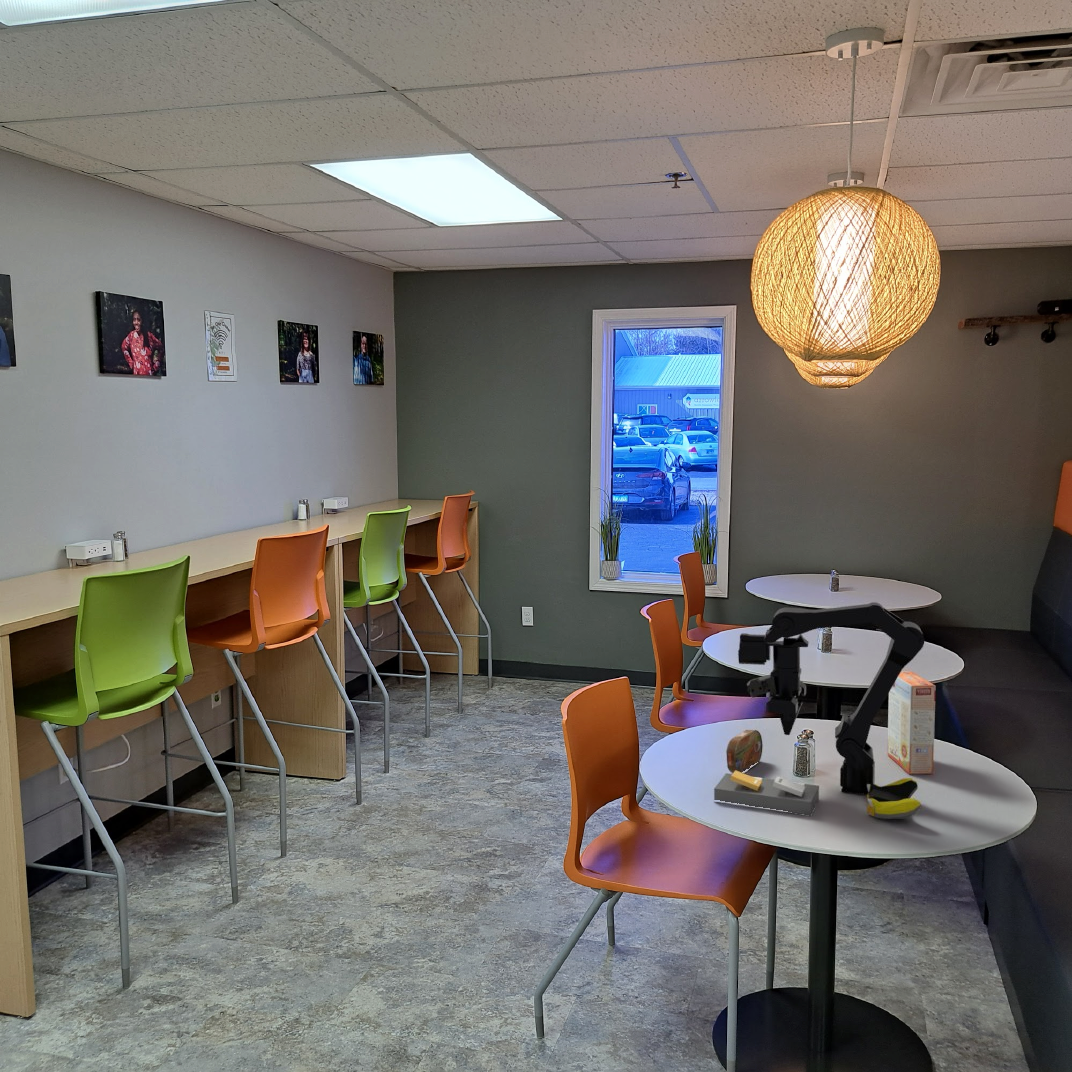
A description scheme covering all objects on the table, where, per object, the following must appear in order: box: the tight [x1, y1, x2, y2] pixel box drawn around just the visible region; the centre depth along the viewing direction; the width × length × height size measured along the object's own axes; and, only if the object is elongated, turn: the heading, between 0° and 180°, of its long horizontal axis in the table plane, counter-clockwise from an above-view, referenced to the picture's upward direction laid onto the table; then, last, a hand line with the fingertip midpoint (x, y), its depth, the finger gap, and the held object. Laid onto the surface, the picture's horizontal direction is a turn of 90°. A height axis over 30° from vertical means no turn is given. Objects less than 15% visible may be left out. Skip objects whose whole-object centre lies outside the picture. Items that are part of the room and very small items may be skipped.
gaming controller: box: [866, 777, 922, 820], centre depth 191 cm, size 15×6×10 cm
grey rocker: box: [773, 775, 805, 797], centre depth 195 cm, size 6×4×1 cm, turn 64°
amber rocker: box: [730, 770, 762, 791], centre depth 199 cm, size 6×4×1 cm, turn 64°
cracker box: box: [887, 670, 936, 775], centre depth 218 cm, size 14×6×21 cm, turn 179°
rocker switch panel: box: [713, 773, 820, 817], centre depth 199 cm, size 20×10×4 cm, turn 64°
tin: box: [726, 729, 764, 774], centre depth 218 cm, size 15×3×8 cm, turn 143°
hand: (787, 734), depth 208 cm, fingers closed
